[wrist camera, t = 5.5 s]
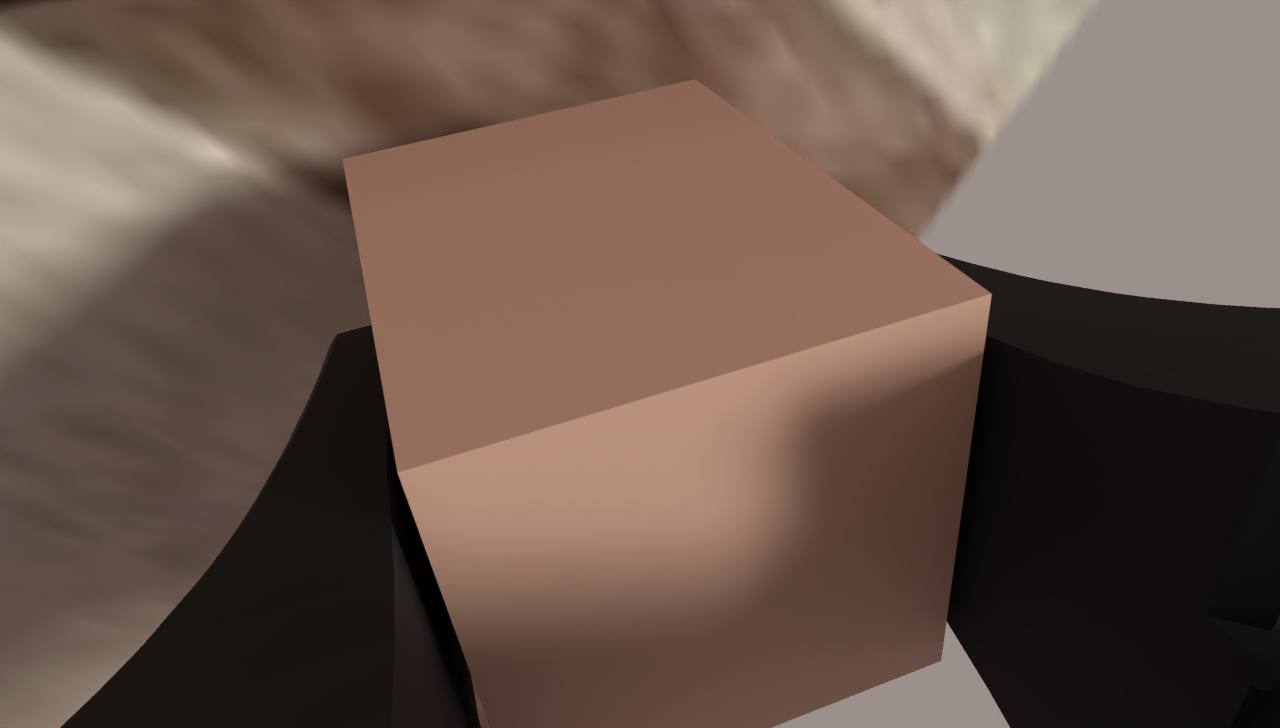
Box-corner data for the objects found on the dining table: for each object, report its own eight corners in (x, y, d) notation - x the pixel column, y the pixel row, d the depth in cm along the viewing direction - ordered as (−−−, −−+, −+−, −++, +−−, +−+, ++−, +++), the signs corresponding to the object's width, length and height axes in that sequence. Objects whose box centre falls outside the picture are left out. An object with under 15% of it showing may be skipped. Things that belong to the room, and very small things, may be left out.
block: (716, 362, 14) (940, 661, 9) (435, 445, 13) (525, 825, 8) (695, 79, 11) (992, 293, 7) (342, 159, 11) (398, 473, 6)
